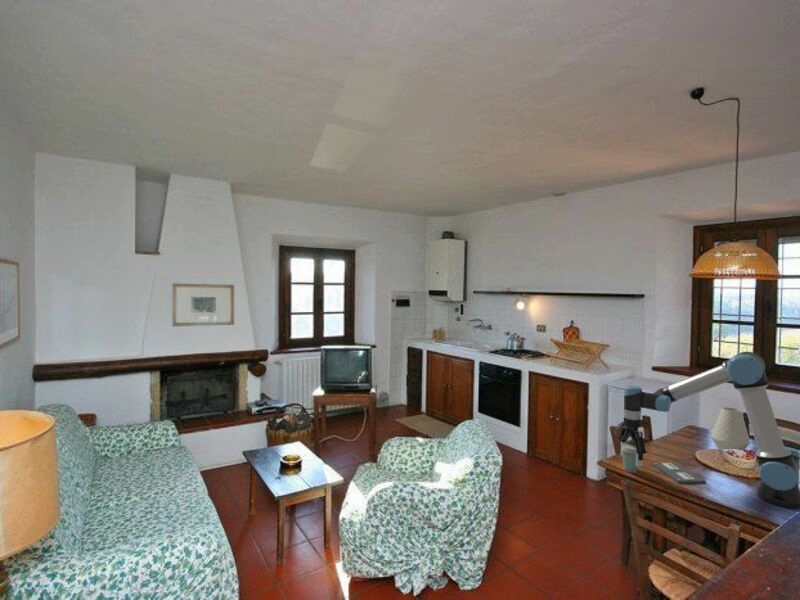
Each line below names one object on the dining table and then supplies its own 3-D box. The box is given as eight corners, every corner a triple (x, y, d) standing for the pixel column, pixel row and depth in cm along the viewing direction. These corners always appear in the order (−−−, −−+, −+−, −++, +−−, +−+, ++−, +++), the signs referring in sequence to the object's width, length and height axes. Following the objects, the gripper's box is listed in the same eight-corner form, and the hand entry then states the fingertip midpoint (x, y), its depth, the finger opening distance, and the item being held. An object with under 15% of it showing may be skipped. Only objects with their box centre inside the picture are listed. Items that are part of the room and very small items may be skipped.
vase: (747, 459, 233) (749, 416, 232) (707, 450, 245) (709, 409, 244) (751, 450, 246) (753, 409, 245) (713, 442, 258) (715, 403, 257)
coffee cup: (643, 475, 213) (643, 450, 212) (623, 473, 215) (624, 449, 214) (637, 467, 221) (638, 444, 221) (618, 466, 223) (619, 442, 223)
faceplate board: (705, 483, 205) (705, 479, 205) (678, 483, 205) (678, 480, 205) (677, 465, 225) (677, 462, 225) (652, 465, 225) (652, 462, 224)
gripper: (655, 426, 205) (654, 471, 205) (625, 410, 229) (625, 450, 230) (639, 426, 204) (638, 471, 205) (611, 410, 229) (610, 450, 230)
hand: (631, 460), depth 218 cm, fingers open, 13 cm apart
